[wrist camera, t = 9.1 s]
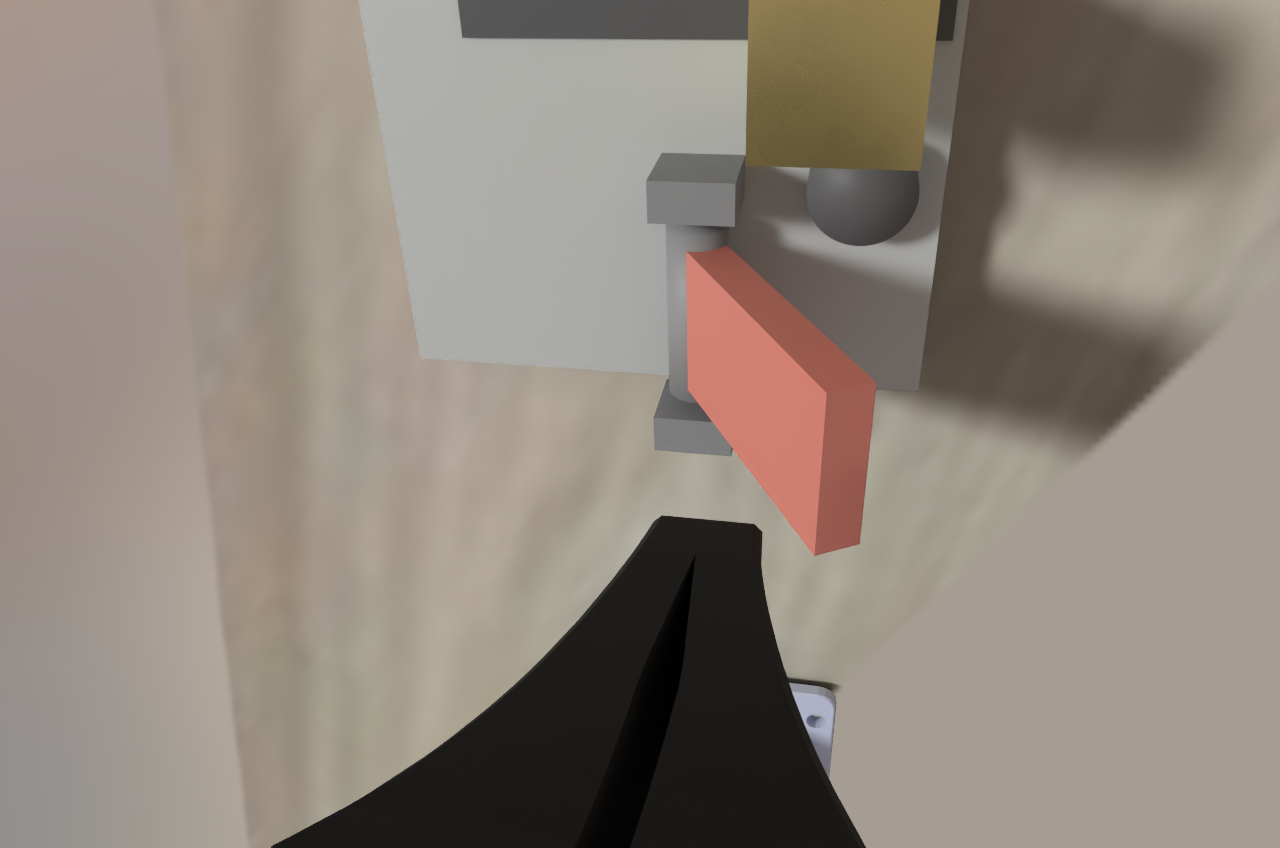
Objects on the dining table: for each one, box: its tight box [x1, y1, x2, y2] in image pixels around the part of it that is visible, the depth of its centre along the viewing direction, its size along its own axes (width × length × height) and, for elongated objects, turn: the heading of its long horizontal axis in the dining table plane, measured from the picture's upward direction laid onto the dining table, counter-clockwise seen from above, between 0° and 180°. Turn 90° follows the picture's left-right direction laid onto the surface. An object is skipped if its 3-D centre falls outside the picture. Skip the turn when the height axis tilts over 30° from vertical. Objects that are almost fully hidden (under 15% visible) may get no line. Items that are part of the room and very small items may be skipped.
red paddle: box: [666, 224, 876, 556], centre depth 18 cm, size 4×1×7 cm
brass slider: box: [745, 0, 940, 171], centre depth 15 cm, size 2×2×4 cm
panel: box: [358, 0, 970, 456], centre depth 18 cm, size 15×11×3 cm
